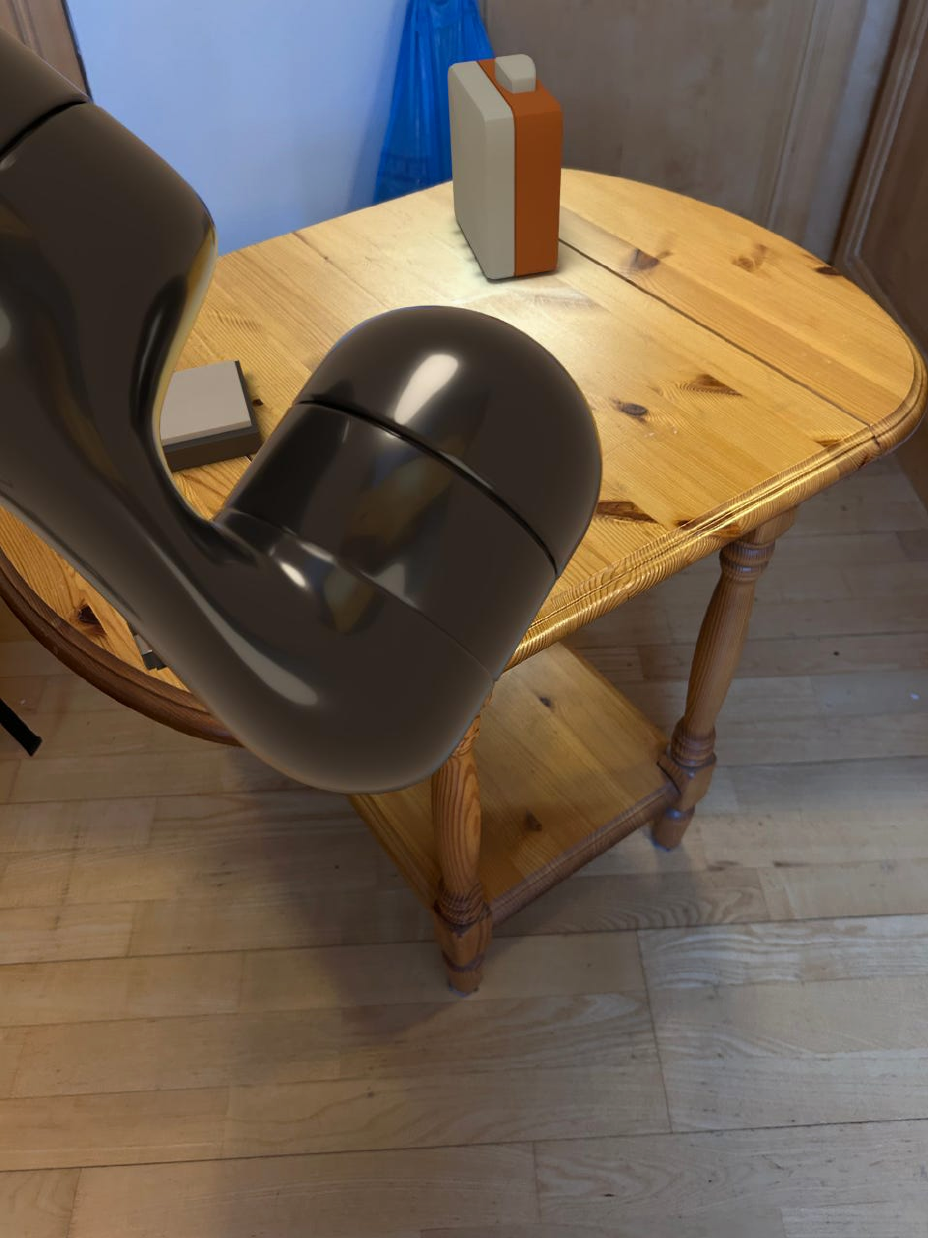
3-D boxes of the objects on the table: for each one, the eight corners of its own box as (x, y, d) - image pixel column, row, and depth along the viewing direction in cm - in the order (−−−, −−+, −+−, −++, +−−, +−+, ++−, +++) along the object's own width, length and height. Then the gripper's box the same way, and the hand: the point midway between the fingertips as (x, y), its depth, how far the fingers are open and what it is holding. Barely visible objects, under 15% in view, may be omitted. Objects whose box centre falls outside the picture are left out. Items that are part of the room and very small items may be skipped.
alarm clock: (559, 274, 108) (566, 84, 92) (488, 285, 107) (483, 95, 91) (517, 208, 120) (518, 30, 104) (453, 217, 119) (444, 39, 103)
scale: (128, 482, 85) (117, 455, 83) (120, 405, 94) (109, 379, 91) (264, 451, 88) (257, 424, 85) (244, 379, 96) (237, 353, 93)
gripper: (426, 434, 37) (354, 490, 53) (80, 558, 33) (113, 579, 49) (491, 603, 38) (402, 609, 53) (161, 744, 34) (168, 707, 49)
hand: (264, 595), depth 51 cm, fingers open, 8 cm apart
